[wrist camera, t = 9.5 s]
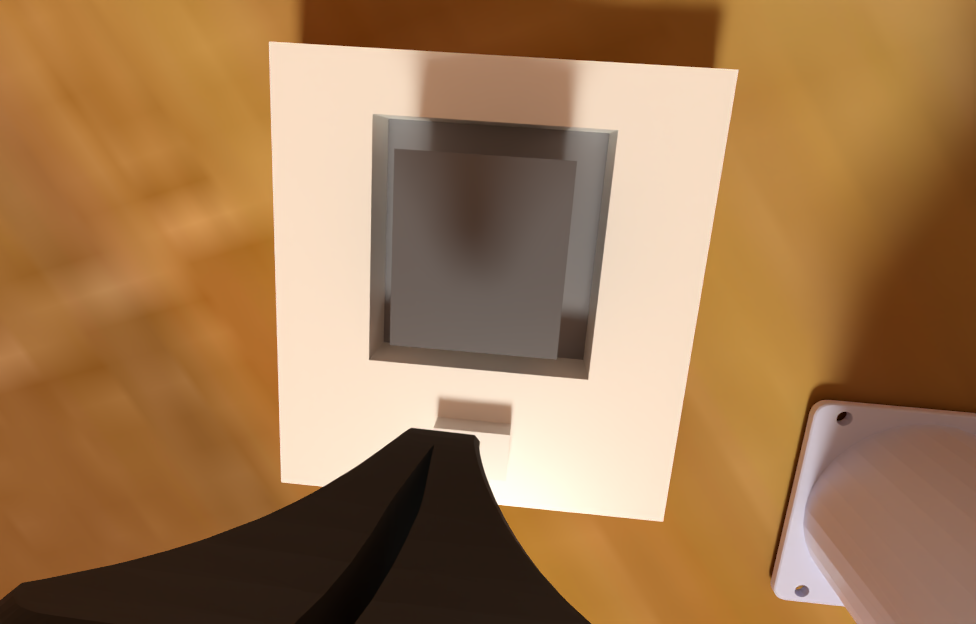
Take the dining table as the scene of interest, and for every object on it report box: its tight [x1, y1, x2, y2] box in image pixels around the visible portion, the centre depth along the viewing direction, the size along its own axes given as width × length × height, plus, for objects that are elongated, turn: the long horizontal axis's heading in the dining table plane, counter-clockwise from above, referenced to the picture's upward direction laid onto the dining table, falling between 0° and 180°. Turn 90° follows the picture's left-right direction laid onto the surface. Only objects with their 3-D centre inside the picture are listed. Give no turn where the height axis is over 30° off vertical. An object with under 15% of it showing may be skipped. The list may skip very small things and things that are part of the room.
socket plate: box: [269, 42, 738, 522], centre depth 19 cm, size 13×14×3 cm
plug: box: [390, 149, 577, 360], centre depth 17 cm, size 4×5×5 cm
